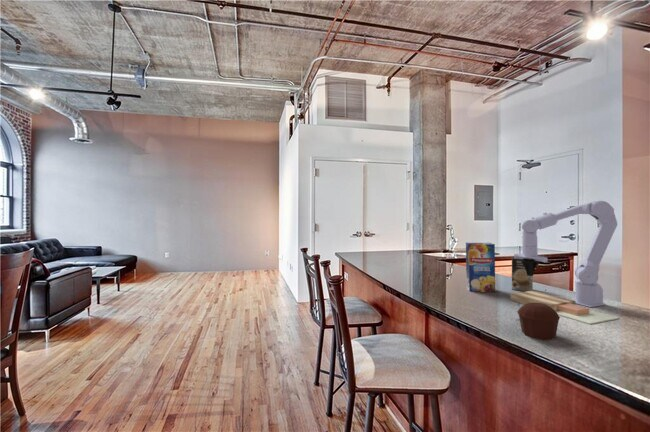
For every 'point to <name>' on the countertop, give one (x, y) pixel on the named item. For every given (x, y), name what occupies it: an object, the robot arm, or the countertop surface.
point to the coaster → (573, 309)
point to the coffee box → (520, 276)
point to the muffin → (538, 321)
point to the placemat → (589, 317)
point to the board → (540, 299)
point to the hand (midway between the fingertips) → (530, 275)
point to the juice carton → (480, 267)
